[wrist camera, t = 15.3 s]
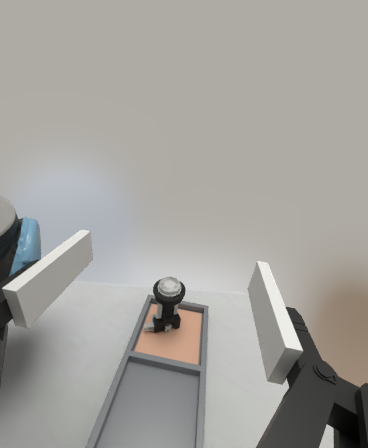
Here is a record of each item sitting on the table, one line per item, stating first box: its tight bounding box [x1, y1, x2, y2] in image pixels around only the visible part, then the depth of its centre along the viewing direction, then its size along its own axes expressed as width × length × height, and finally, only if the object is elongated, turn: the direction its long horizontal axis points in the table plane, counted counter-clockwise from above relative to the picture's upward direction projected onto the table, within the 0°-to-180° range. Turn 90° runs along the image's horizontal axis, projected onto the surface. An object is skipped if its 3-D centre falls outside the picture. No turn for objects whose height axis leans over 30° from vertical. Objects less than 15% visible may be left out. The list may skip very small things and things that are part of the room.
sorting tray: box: [86, 295, 208, 448], centre depth 31 cm, size 13×24×2 cm, turn 172°
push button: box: [144, 277, 185, 333], centre depth 35 cm, size 7×5×10 cm
